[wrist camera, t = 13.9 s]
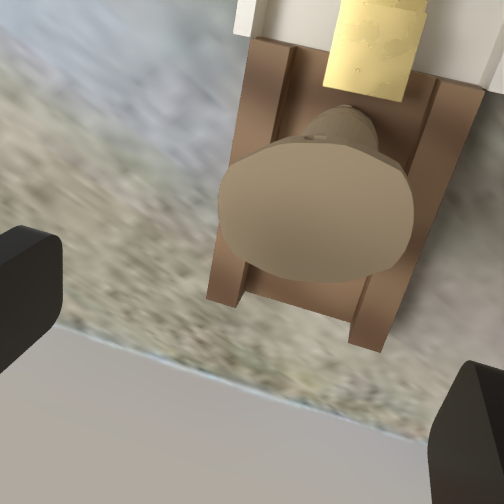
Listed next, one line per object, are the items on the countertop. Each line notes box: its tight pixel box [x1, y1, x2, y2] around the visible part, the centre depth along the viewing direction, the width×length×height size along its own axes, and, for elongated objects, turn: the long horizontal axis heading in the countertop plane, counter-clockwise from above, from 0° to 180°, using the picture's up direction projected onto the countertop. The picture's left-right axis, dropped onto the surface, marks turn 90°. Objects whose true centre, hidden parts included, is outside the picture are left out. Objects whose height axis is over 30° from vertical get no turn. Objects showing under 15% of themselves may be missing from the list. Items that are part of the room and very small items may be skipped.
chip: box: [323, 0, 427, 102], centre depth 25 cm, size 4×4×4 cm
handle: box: [218, 104, 414, 283], centre depth 22 cm, size 5×6×15 cm
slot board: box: [206, 37, 485, 353], centre depth 31 cm, size 17×13×4 cm
